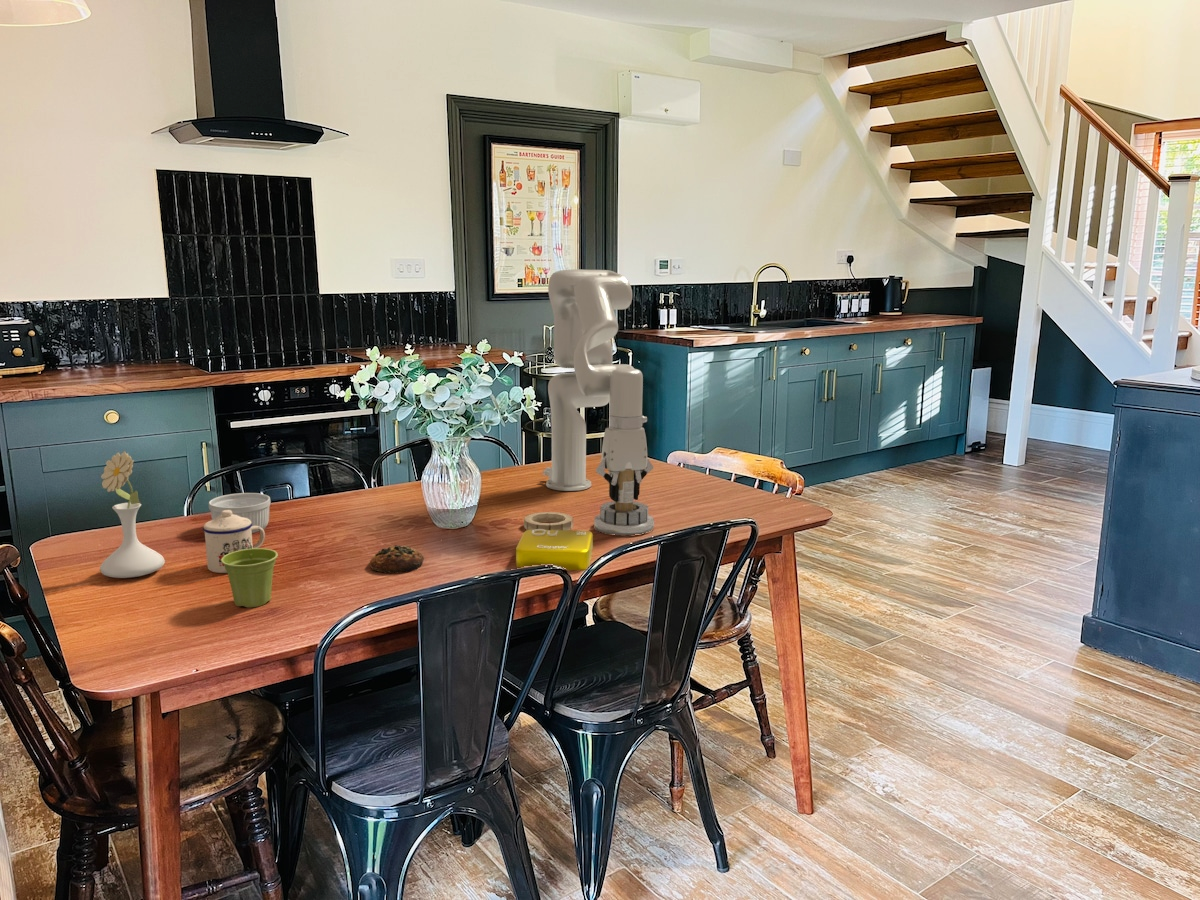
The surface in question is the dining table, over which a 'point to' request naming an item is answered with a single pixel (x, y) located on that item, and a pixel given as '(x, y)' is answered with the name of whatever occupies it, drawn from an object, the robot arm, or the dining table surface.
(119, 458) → the flower in vase
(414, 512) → the dining table surface
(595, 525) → the hub
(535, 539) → the element tile
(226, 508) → the ramekin
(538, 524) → the beige flat ring
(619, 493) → the sprinkles bottle
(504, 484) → the dining table surface
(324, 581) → the dining table surface
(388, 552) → the bread roll
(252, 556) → the plant pot
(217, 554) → the teacup with lid
